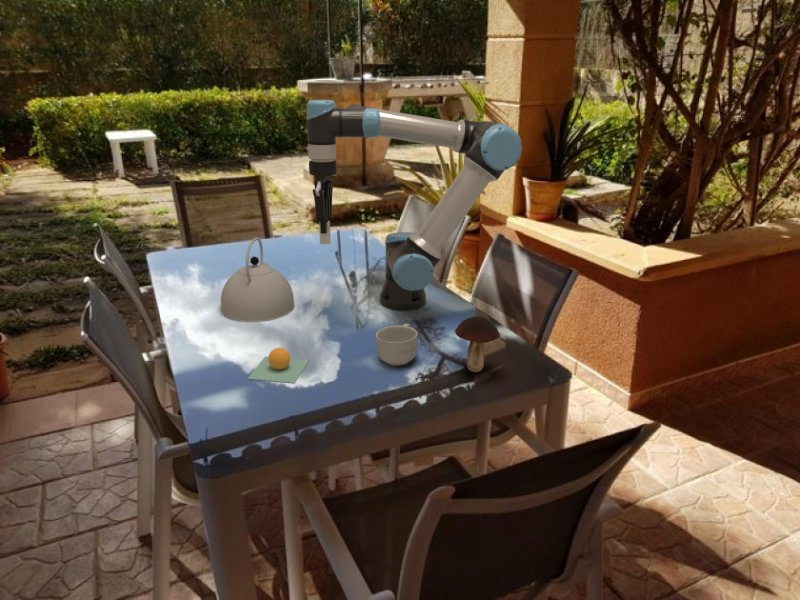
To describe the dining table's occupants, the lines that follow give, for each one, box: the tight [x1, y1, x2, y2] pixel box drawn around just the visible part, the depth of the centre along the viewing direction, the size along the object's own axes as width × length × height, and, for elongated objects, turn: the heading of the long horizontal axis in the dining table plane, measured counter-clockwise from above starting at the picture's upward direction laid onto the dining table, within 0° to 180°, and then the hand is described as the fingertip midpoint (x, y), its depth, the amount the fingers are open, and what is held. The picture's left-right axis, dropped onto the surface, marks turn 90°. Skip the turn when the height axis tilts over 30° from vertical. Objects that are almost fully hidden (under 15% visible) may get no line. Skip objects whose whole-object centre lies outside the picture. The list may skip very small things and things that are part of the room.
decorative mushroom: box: [454, 315, 501, 373], centre depth 148 cm, size 11×11×15 cm
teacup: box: [375, 323, 418, 367], centre depth 155 cm, size 14×11×8 cm
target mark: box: [247, 356, 310, 384], centre depth 150 cm, size 12×12×1 cm
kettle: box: [220, 237, 296, 323], centre depth 185 cm, size 25×23×22 cm
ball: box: [267, 347, 291, 369], centre depth 150 cm, size 6×6×6 cm
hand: (325, 243), depth 170 cm, fingers closed
